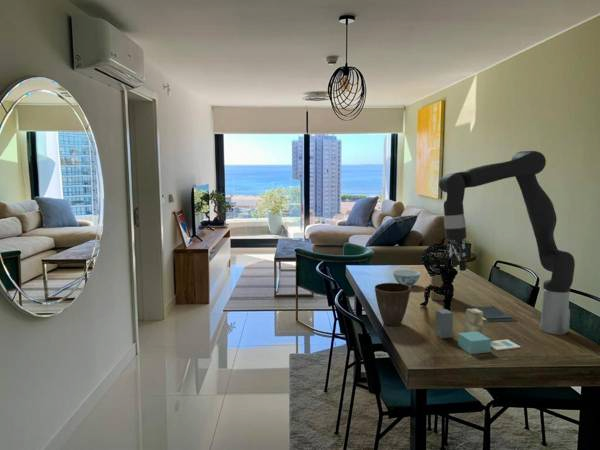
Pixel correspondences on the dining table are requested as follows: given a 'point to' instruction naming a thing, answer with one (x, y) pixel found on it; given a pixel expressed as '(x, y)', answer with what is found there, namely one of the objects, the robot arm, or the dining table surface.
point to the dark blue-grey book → (493, 314)
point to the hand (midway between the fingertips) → (458, 268)
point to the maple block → (473, 320)
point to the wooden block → (438, 282)
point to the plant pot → (392, 302)
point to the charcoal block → (444, 323)
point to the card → (503, 345)
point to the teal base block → (474, 342)
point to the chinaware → (406, 277)
